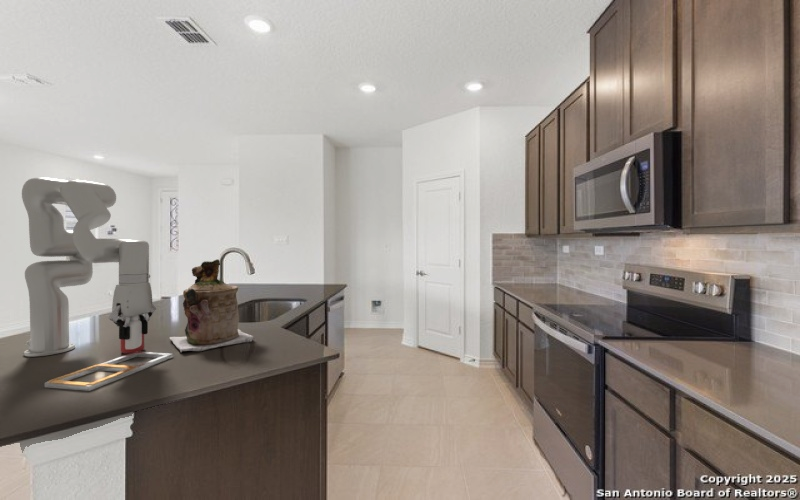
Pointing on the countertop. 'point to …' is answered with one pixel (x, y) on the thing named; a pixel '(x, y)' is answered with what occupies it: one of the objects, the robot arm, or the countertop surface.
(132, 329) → the eye dropper bottle
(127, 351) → the beer can
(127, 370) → the rail
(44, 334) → the robot arm
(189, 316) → the cookie jar
